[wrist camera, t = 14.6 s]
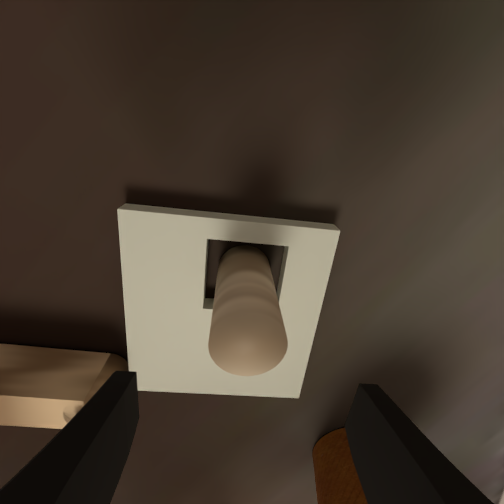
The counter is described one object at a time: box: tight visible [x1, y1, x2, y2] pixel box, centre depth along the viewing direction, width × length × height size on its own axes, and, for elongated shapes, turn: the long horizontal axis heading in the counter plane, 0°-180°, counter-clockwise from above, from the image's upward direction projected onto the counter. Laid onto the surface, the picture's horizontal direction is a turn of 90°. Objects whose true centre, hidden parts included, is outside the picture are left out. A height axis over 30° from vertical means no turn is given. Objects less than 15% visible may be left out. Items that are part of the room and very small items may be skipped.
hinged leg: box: [0, 344, 129, 429], centre depth 18 cm, size 11×2×5 cm, turn 81°
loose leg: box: [208, 245, 288, 376], centre depth 15 cm, size 3×3×7 cm
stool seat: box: [117, 203, 340, 398], centre depth 19 cm, size 13×12×1 cm
